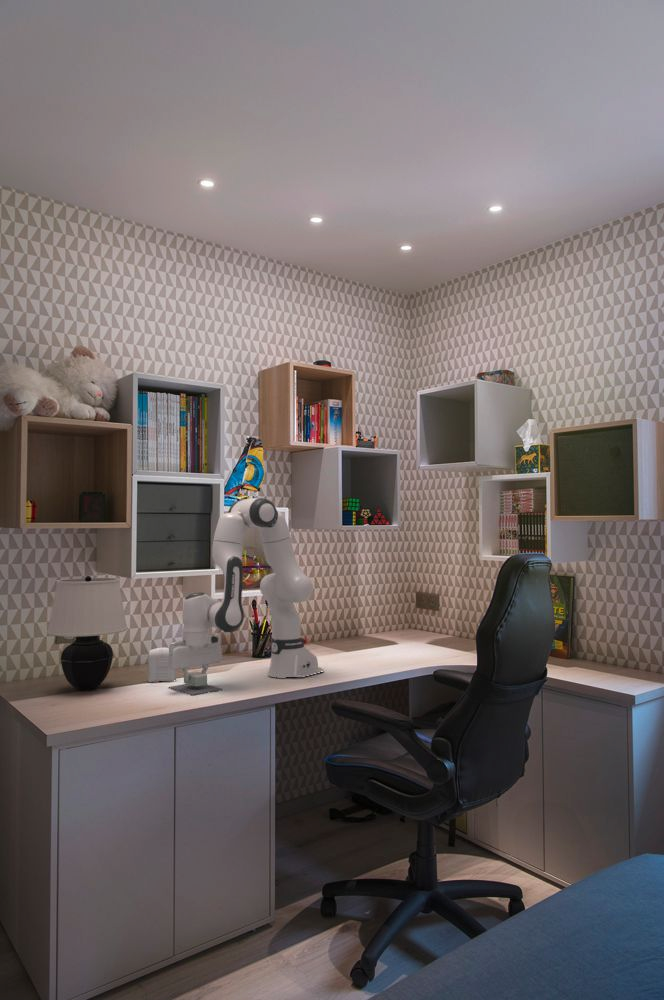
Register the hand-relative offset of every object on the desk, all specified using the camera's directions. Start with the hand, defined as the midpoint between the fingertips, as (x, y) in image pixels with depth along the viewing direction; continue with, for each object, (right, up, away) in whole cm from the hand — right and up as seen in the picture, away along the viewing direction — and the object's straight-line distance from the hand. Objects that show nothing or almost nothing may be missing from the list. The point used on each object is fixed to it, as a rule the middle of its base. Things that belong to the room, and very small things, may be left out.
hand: (195, 678), depth 248 cm
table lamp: (-38, -4, 0) cm, 38 cm away
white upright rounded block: (-15, -5, +14) cm, 21 cm away
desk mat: (0, -4, 0) cm, 4 cm away
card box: (0, -2, 0) cm, 2 cm away
